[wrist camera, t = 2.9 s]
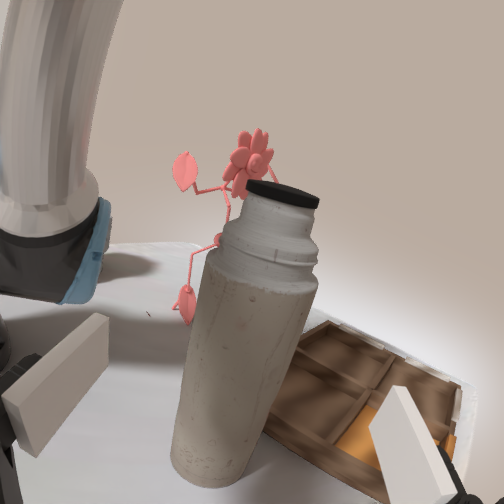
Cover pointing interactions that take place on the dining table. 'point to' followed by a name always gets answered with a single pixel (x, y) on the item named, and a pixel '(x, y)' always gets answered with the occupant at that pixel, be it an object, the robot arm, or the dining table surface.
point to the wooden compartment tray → (354, 403)
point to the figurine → (239, 170)
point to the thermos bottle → (244, 332)
